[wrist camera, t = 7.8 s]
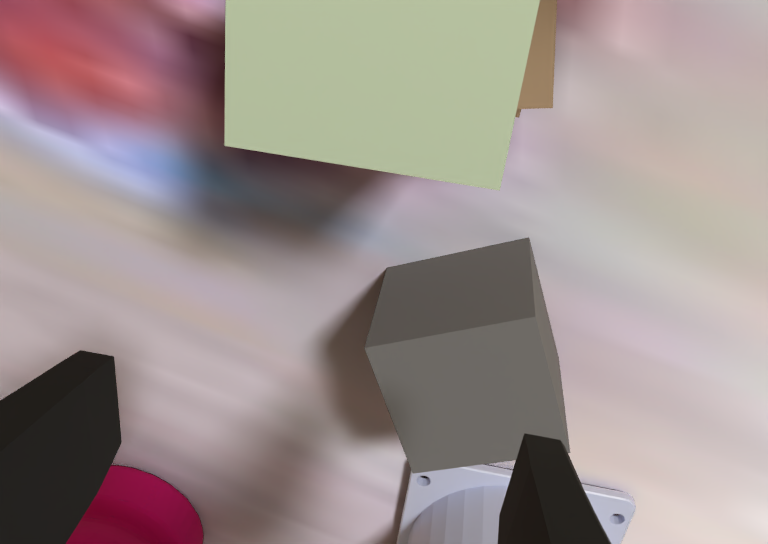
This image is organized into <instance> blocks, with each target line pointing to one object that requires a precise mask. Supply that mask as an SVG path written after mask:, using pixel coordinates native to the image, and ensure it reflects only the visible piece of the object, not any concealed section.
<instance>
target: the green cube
mask: <svg viewBox="0 0 768 544" xmlns="http://www.w3.org/2000/svg"><path fill="white" fill-rule="evenodd" d="M539 2H540V0H226V6H225V144H224V146H229V147H235V148H241V149H248V150H254V151H260V152H266V153H272V154H278V155H284V156H291V157H297V158H303V159H309V160H315V161H321V162H328V163H334V164H340V165H346V166H352V167H358V168H365V169H371V170H377V171H383V172H389V173H395V174H401V175H408V176H414V177H420V178H426V179H432V180H438V181H445V182H451V183H457V184H463V185H469V186H475V187H482V188H488V189H494V190H500V186H501V182H502V177H503V172H504V167H505V163H506V158H507V153H508V149H509V144H510V139H511V134H512V130H513V125H514V120H515V115H516V111H517V106H518V101H519V97H520V92H521V87H522V82H523V78H524V73H525V68H526V64H527V59H528V54H529V49H530V45H531V40H532V35H533V31H534V26H535V21H536V16H537V12H538V7H539Z"/></svg>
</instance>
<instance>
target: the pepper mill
mask: <svg viewBox="0 0 768 544" xmlns="http://www.w3.org/2000/svg"><path fill="white" fill-rule="evenodd" d="M202 542H203V530H202V525H201V522H200V519H199V516H198V514H197V513H196V511H195V510H194V508H193V507H192V505H191V504H190V502H189V501H188V499H187V498H186V497H184V496H183V495H182V494H181V493H180V492H179V491H178V490H176V489H175V488H174V487H173V486H172V485H170V484H168V483H167V482H165V481H164V480H162V479H160V478H158V477H156V476H155V475H152V474H149V473H147V472H144V471H141V470H138V469H134V468H131V467H124V466H118V465H112V466H110V468H109V471H108V473H107V475H106V477H105V479H104V481H103V483H102V485H101V487H100V489H99V491H98V493H97V495H96V496H95V498H94V500H93V501H92V503H91V505H90V506H89V508H88V509H87V511H86V513H85V514H84V516H83V517H82V519H81V520H80V522H79V524H78V525H77V527H76V528H75V530H74V531H73V533H72V535H71V536H70V538H69V539H68V541H67V542H66V544H202Z"/></svg>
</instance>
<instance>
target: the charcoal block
mask: <svg viewBox="0 0 768 544" xmlns="http://www.w3.org/2000/svg"><path fill="white" fill-rule="evenodd" d="M364 349H365V351H366V354H367V356H368V359H369V362H370V364H371V367H372V369H373V372H374V374H375V377H376V380H377V382H378V385H379V387H380V390H381V393H382V395H383V398H384V400H385V403H386V406H387V408H388V411H389V413H390V416H391V418H392V421H393V424H394V426H395V429H396V431H397V434H398V437H399V439H400V442H401V444H402V447H403V450H404V452H405V455H406V457H407V460H408V462H409V465H410V468H411V470H412V473H413V474H414V473H422V472H429V471H437V470H444V469H452V468H459V467H467V466H474V465H482V464H489V463H497V462H504V461H512V460H516V459H517V456H518V452H519V449H520V446H521V443H522V439H523V436H524V433H526V434H531V435H537V436H542V437H548V438H553V439H558V440H561V442H562V443H563V444H564V446H565V448H566V450H567V453H570V448H569V439H568V431H567V423H566V415H565V406H564V398H563V390H562V382H561V373H560V365H559V357H558V353H557V349H556V345H555V341H554V337H553V333H552V329H551V325H550V321H549V317H548V313H547V309H546V304H545V300H544V296H543V292H542V288H541V284H540V280H539V276H538V272H537V268H536V264H535V260H534V256H533V251H532V247H531V243H530V239H529V238H524V239H519V240H515V241H510V242H505V243H501V244H496V245H491V246H487V247H482V248H477V249H473V250H468V251H463V252H459V253H454V254H449V255H445V256H440V257H435V258H431V259H426V260H421V261H416V262H412V263H407V264H402V265H398V266H393V267H388V268H387V269H386V273H385V277H384V280H383V284H382V287H381V291H380V294H379V298H378V301H377V305H376V309H375V312H374V316H373V319H372V323H371V326H370V330H369V333H368V337H367V340H366V344H365V348H364Z"/></svg>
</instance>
